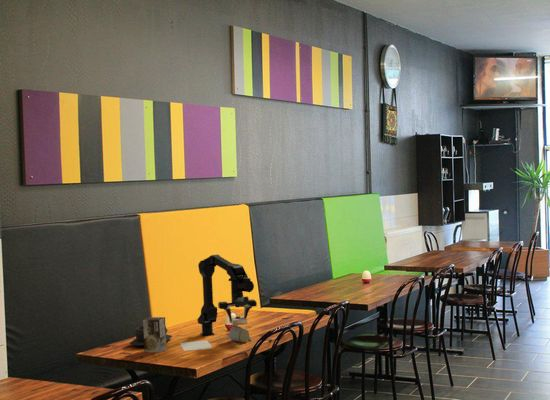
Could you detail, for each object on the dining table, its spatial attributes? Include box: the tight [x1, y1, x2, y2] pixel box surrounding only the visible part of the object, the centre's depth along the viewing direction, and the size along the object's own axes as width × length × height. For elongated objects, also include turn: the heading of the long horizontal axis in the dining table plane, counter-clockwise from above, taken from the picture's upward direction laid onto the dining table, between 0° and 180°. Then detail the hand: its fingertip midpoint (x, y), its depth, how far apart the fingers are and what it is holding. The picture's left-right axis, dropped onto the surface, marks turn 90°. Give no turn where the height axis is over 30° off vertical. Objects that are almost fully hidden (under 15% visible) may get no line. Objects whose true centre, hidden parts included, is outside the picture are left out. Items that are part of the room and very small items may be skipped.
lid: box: [228, 315, 248, 326], centre depth 372 cm, size 11×7×3 cm, turn 15°
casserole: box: [129, 325, 173, 347], centre depth 375 cm, size 25×19×8 cm
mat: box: [179, 340, 214, 352], centre depth 365 cm, size 18×14×1 cm
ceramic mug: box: [228, 325, 252, 343], centre depth 373 cm, size 11×8×8 cm
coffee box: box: [142, 316, 168, 353], centre depth 357 cm, size 9×6×16 cm
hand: (238, 321), depth 372 cm, fingers closed on lid, 7 cm apart
